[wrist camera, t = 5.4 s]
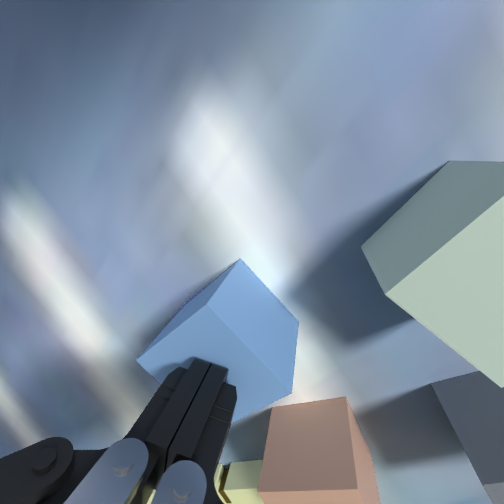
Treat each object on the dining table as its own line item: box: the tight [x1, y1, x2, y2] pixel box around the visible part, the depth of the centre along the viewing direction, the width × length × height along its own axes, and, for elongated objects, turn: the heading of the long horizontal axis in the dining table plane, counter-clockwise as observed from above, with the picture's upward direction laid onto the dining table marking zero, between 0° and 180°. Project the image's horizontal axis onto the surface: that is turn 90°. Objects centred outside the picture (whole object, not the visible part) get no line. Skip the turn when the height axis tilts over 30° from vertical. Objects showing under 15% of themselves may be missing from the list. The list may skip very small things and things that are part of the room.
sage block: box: [360, 161, 504, 388], centre depth 10 cm, size 5×5×5 cm
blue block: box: [136, 258, 299, 423], centre depth 14 cm, size 5×5×5 cm
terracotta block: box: [258, 397, 381, 504], centre depth 15 cm, size 5×5×5 cm
